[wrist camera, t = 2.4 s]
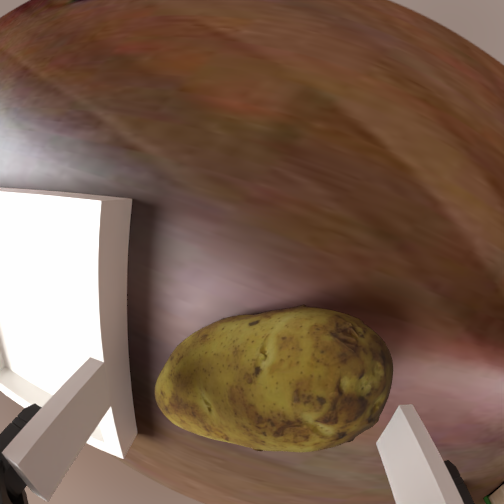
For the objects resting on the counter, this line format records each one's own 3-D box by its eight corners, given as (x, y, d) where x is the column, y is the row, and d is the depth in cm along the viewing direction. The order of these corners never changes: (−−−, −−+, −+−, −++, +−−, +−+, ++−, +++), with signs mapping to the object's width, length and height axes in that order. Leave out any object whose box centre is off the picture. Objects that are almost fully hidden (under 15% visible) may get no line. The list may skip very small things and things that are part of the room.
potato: (151, 290, 17) (79, 352, 9) (362, 276, 16) (426, 339, 8) (176, 395, 18) (139, 475, 11) (354, 387, 17) (385, 472, 10)
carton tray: (137, 432, 20) (123, 458, 16) (6, 368, 20) (-11, 381, 17) (132, 198, 16) (101, 200, 12) (-16, 186, 16) (-42, 188, 13)
